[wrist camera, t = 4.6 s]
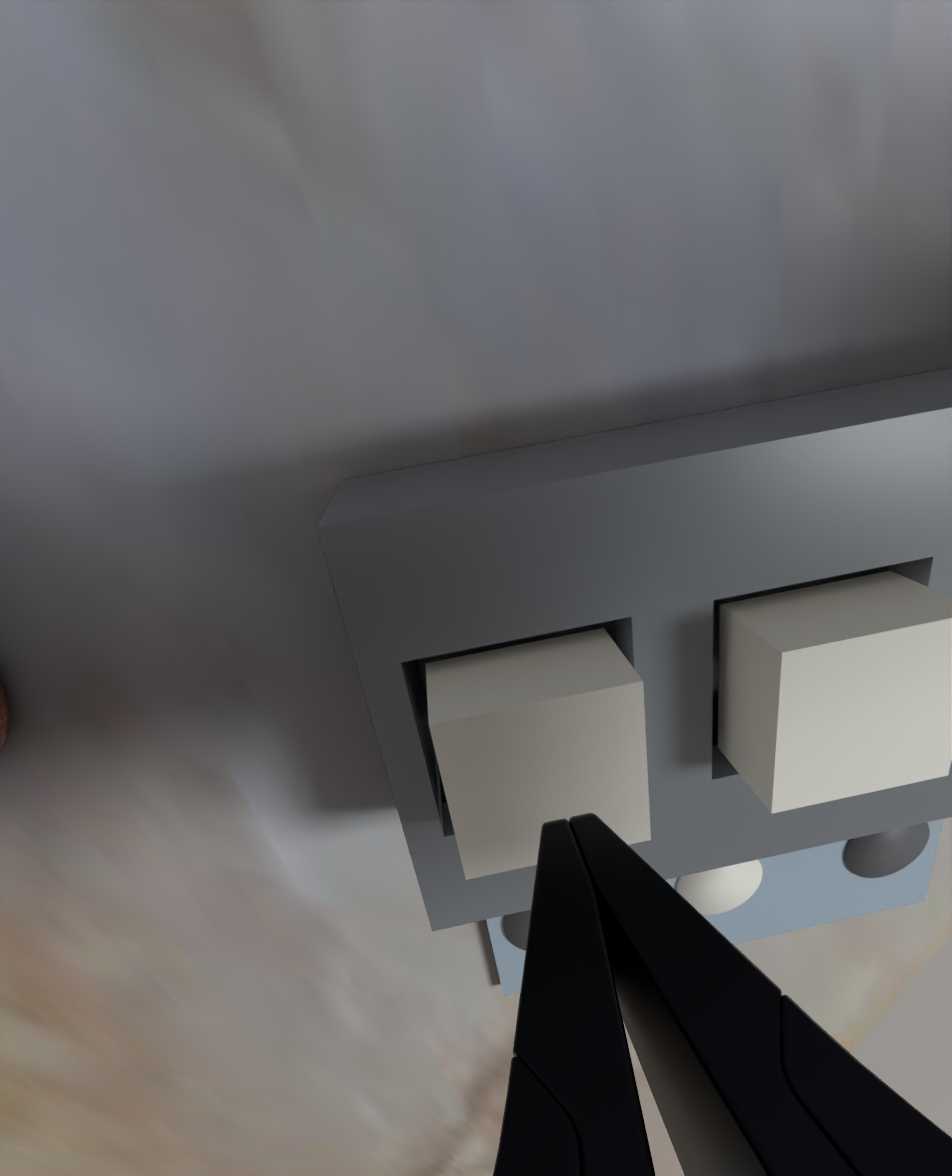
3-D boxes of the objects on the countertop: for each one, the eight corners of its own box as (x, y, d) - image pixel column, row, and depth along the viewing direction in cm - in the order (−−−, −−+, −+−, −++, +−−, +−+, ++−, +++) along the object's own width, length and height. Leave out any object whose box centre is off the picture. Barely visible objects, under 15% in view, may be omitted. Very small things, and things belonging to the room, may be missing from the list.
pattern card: (947, 744, 18) (961, 754, 18) (915, 891, 21) (926, 903, 20) (470, 846, 17) (472, 859, 17) (501, 984, 20) (503, 999, 20)
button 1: (603, 627, 11) (643, 681, 9) (614, 768, 12) (651, 839, 10) (425, 662, 11) (428, 725, 9) (457, 802, 12) (465, 879, 10)
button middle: (890, 570, 11) (984, 610, 9) (869, 715, 13) (948, 775, 11) (720, 604, 11) (782, 652, 9) (717, 747, 12) (771, 813, 11)
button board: (1070, 345, 13) (1320, 337, 10) (988, 687, 17) (1144, 774, 14) (343, 479, 13) (316, 526, 9) (427, 805, 17) (432, 931, 13)
